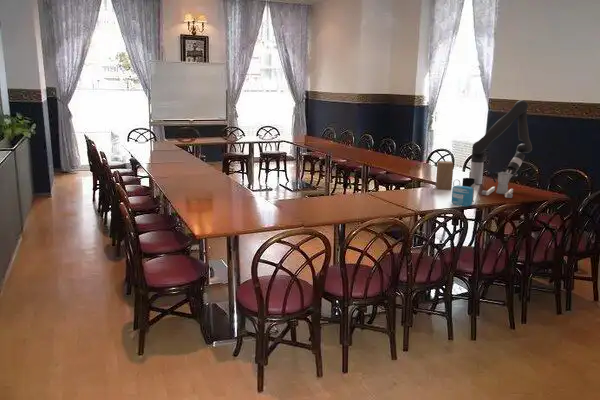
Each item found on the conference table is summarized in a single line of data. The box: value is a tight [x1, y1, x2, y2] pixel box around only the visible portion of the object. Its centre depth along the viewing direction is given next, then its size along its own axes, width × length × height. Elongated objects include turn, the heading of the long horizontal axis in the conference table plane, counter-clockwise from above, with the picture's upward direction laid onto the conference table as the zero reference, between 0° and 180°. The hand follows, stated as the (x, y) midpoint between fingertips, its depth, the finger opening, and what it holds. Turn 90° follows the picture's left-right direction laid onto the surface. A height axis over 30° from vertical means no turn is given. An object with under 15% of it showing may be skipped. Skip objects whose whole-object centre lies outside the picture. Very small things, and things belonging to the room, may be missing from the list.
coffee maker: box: [490, 167, 512, 195], centre depth 353 cm, size 15×9×18 cm, turn 65°
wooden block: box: [435, 160, 454, 191], centre depth 367 cm, size 10×10×20 cm
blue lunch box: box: [452, 177, 476, 203], centre depth 329 cm, size 9×14×15 cm, turn 58°
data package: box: [450, 184, 474, 207], centre depth 316 cm, size 12×4×12 cm, turn 48°
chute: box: [481, 186, 514, 199], centre depth 353 cm, size 20×22×2 cm
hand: (504, 182), depth 363 cm, fingers closed
